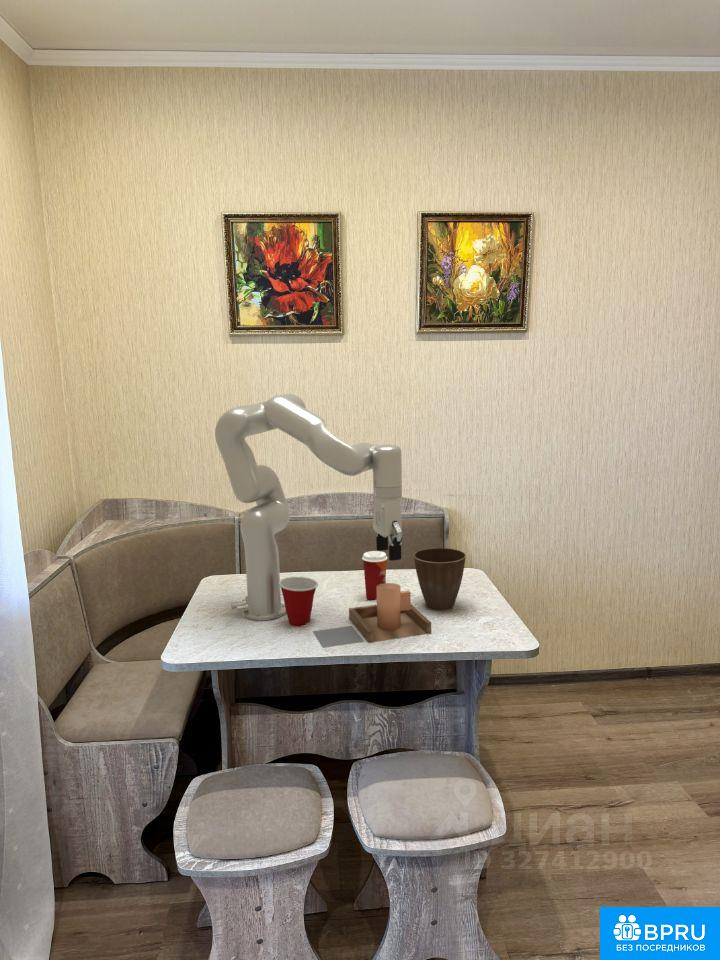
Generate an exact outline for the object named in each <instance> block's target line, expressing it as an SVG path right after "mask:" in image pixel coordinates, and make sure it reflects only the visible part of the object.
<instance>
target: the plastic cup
mask: <svg viewBox="0 0 720 960" xmlns="http://www.w3.org/2000/svg"><path fill="white" fill-rule="evenodd" d="M318 583H319V582H318V581H317V580H315V579H313V578H310V577H306V576H290V577H285V578H282V579H280V581H279V585H280V591H281V596H282V598H283V602H284V603H283V604H284V605H285V608H286V613H285V614H286V617H287V621H288V623H289V625H290V626H292V627H304V626H307V624H308V623H309V622H310V621H311V615H312V612H313V611H312V610H313V604H314V598H315V597H314V596H315V593H316V589H317V587H319V584H318Z"/></svg>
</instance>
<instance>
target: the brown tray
mask: <svg viewBox="0 0 720 960" xmlns="http://www.w3.org/2000/svg"><path fill="white" fill-rule="evenodd" d="M348 619H349V620H350V622H351V623H352V624H353V625H354V627H355V628H356V630H358V632H359V633H360V635H362V636H363V638H364V639H365V641H367V643H368V644H371V643H377V642H378V643H379V642H383V641H391V640H396V639H397V640H398V639H404V638H410V637H417V636H422V635H423V636H424V635H430V634H432V622H431V620H430V619H428V617H426V616H425V615H424V614H423V613H422V612H420V611H419V610H418V608H416V607H415V606H414V605H413V604H411V610H404V611H401V627H400V628H398V629H396V630H382V629H380V628H378V627H377V604H371V605H365V606H362V605H361V606H355V607H349V608H348Z"/></svg>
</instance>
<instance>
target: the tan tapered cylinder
mask: <svg viewBox="0 0 720 960" xmlns="http://www.w3.org/2000/svg"><path fill="white" fill-rule="evenodd" d="M411 594H412V593H411V591H410V590H403V591H401V586H400V585H399V584H397V583H393V582H386V583H383V584H379V585H378V586H377V600H376V605H377V627H378V628H380V629H382V630H396V629H398V628H400V627H401V611H404V610H411V605H412V604H411V602H412V601H411V600H412V599H411V597H412V596H411Z"/></svg>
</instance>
